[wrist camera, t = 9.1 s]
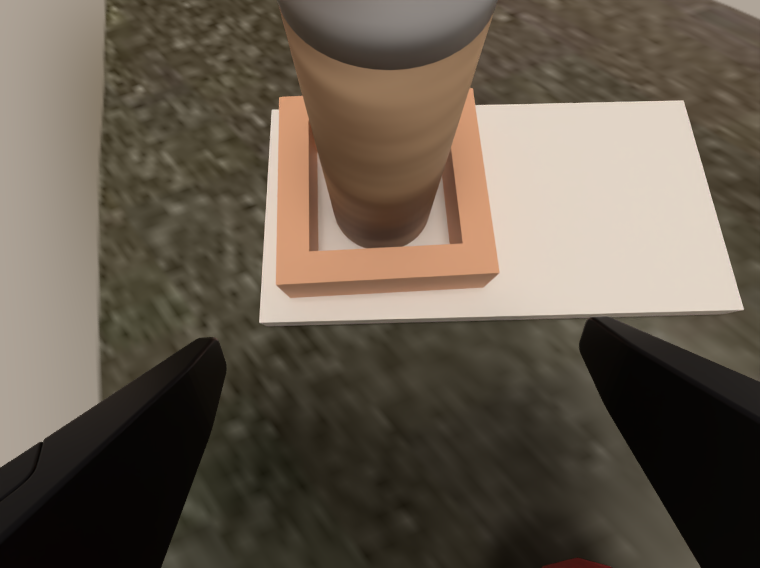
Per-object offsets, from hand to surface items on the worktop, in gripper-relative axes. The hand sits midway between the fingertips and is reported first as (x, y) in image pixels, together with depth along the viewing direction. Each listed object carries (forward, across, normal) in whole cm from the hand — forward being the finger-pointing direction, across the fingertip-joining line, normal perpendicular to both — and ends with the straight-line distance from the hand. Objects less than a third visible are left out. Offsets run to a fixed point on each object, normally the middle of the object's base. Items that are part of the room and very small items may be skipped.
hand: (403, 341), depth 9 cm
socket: (+11, 0, 0) cm, 11 cm away
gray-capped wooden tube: (+11, 0, 0) cm, 11 cm away
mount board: (+12, -6, +1) cm, 13 cm away
